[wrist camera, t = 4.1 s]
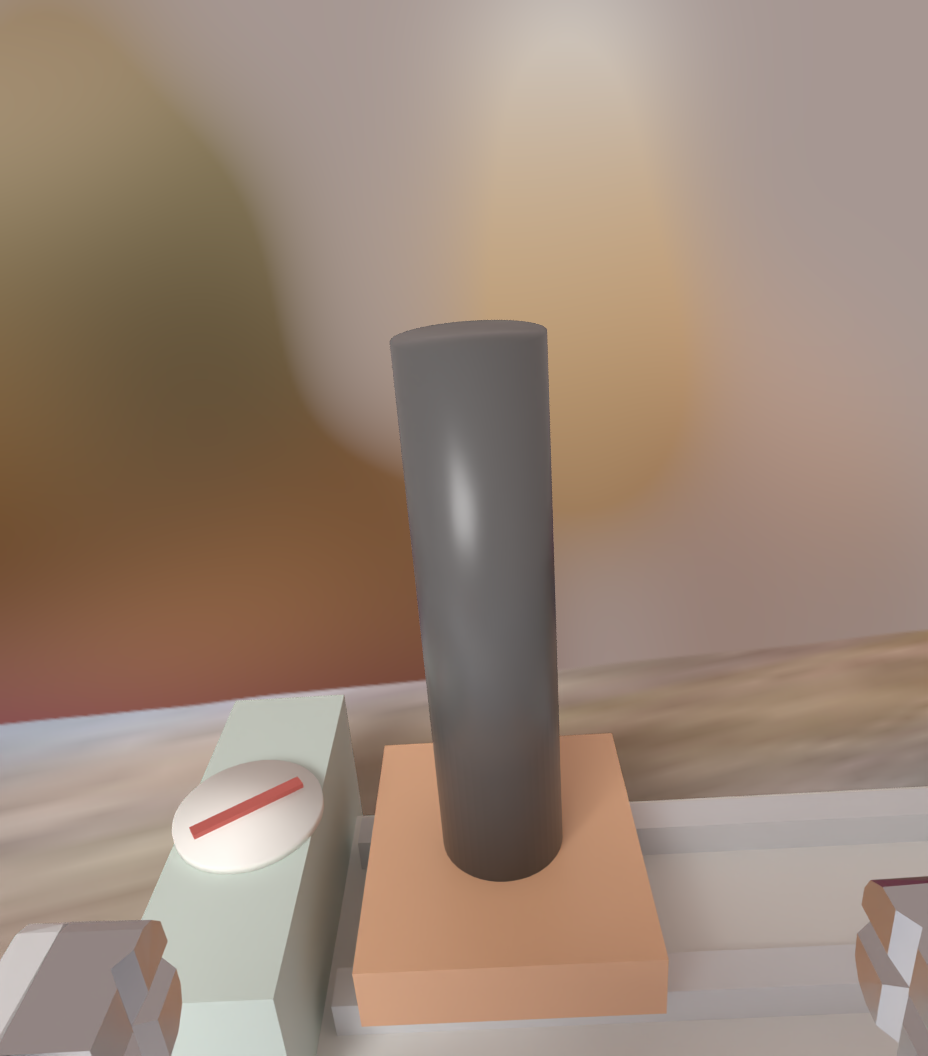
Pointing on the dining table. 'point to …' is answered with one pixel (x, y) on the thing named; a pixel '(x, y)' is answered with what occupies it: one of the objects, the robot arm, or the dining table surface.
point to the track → (535, 1044)
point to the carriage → (495, 731)
